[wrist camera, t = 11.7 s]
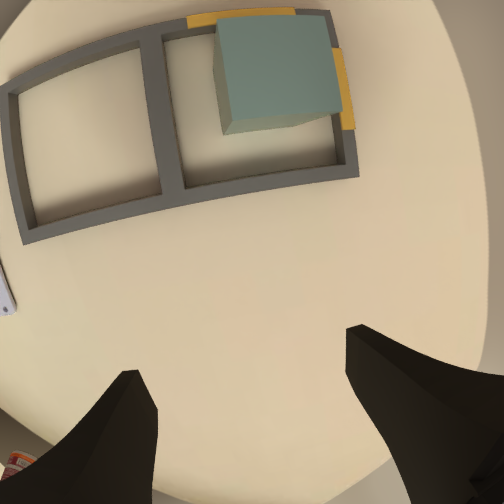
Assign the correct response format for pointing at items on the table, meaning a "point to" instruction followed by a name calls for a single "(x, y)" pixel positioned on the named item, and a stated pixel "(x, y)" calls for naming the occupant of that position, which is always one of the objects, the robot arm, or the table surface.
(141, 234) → the table surface
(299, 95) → the pale teal rectangular block
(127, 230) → the table surface
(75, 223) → the dock
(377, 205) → the table surface
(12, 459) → the pill bottle
